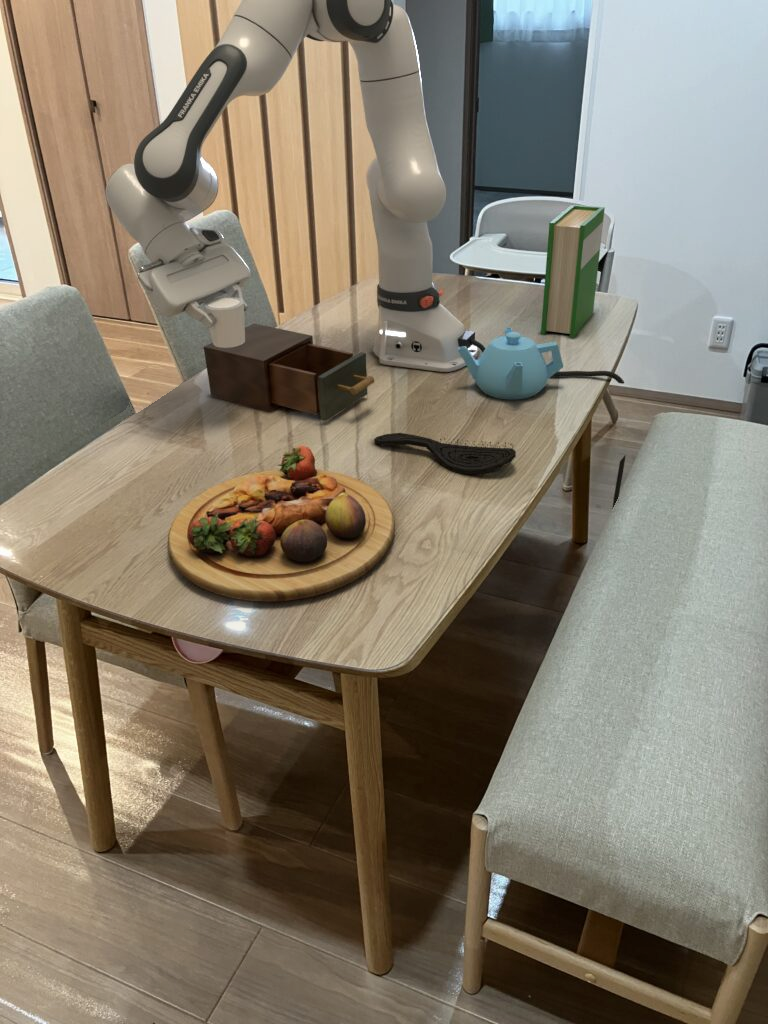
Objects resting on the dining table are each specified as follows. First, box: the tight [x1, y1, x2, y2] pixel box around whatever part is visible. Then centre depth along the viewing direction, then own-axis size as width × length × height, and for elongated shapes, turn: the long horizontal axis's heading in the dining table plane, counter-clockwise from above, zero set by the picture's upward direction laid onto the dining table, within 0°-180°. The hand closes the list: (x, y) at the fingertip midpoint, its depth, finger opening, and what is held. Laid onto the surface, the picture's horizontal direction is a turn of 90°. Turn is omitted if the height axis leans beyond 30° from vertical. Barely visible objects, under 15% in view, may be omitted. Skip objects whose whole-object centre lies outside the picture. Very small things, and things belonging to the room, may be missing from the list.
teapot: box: [458, 327, 564, 400], centre depth 157 cm, size 15×15×11 cm
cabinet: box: [203, 322, 314, 413], centre depth 159 cm, size 15×15×10 cm
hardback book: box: [540, 204, 606, 339], centre depth 183 cm, size 18×7×24 cm, turn 154°
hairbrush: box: [373, 432, 517, 475], centre depth 136 cm, size 8×4×25 cm
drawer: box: [267, 343, 375, 422], centre depth 152 cm, size 18×13×8 cm
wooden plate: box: [167, 445, 396, 602], centre depth 116 cm, size 32×32×8 cm
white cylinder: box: [203, 296, 246, 348], centre depth 142 cm, size 7×7×7 cm
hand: (228, 318), depth 142 cm, fingers closed on white cylinder, 7 cm apart
